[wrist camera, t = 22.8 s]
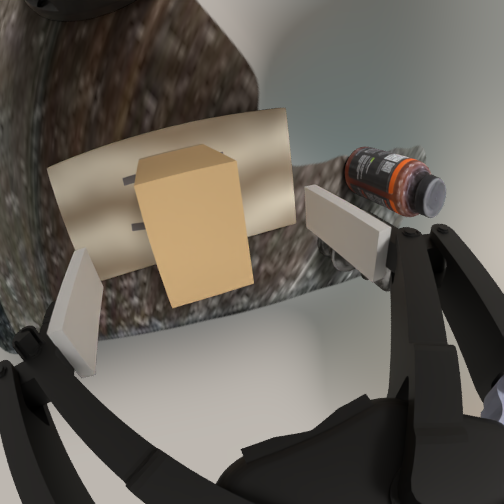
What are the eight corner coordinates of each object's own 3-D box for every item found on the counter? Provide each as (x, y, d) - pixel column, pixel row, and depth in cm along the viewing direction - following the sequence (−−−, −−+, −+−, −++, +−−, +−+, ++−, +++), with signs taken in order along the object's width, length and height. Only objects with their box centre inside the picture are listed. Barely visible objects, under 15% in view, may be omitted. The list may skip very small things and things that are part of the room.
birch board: (50, 166, 20) (46, 168, 19) (280, 107, 25) (285, 107, 24) (92, 277, 26) (90, 284, 25) (290, 219, 31) (296, 223, 30)
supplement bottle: (373, 194, 34) (441, 229, 24) (337, 191, 32) (410, 229, 22) (382, 149, 31) (456, 174, 22) (347, 141, 29) (426, 163, 20)
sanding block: (138, 158, 22) (134, 185, 13) (201, 143, 23) (236, 160, 15) (160, 242, 26) (172, 308, 17) (216, 226, 27) (254, 283, 19)
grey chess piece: (358, 239, 36) (423, 286, 26) (325, 266, 36) (385, 323, 26) (346, 205, 33) (420, 248, 23) (308, 233, 33) (376, 289, 23)
